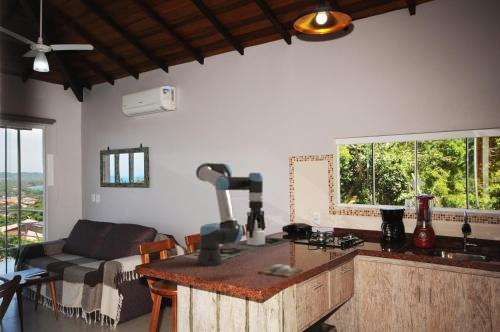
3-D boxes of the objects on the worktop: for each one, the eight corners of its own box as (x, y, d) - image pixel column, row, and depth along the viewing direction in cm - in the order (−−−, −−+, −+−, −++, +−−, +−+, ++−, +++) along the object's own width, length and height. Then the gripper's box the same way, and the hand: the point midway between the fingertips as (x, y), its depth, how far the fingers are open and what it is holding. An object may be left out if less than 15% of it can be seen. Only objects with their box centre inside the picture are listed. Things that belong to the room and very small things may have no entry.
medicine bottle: (255, 242, 205) (255, 221, 206) (265, 244, 201) (265, 221, 201) (246, 244, 200) (246, 222, 201) (256, 245, 195) (256, 222, 196)
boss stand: (258, 273, 197) (258, 267, 197) (274, 266, 212) (274, 261, 213) (288, 277, 188) (288, 271, 188) (302, 270, 203) (302, 265, 203)
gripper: (251, 201, 191) (251, 245, 190) (271, 200, 208) (271, 241, 207) (239, 201, 195) (239, 244, 194) (260, 200, 212) (260, 240, 211)
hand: (256, 242), depth 200 cm, fingers closed on medicine bottle, 8 cm apart
